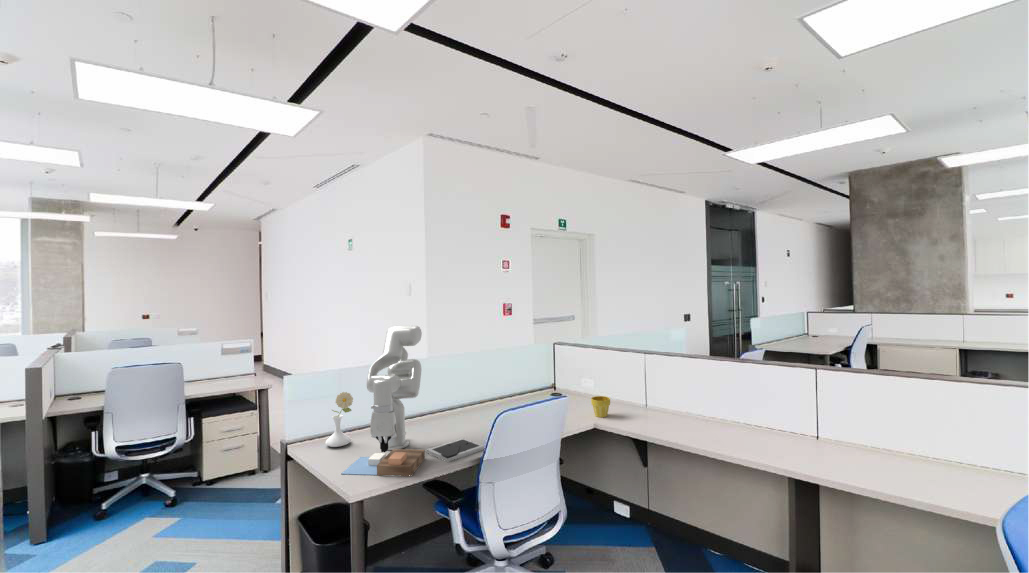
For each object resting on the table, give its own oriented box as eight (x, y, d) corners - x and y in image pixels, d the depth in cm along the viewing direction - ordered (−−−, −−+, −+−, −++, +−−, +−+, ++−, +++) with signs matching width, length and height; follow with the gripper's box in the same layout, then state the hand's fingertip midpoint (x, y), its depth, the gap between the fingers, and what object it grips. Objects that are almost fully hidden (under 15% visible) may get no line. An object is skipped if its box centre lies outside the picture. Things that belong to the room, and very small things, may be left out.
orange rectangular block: (394, 458, 199) (394, 452, 198) (406, 458, 198) (406, 452, 198) (388, 464, 192) (388, 458, 192) (400, 464, 191) (400, 458, 191)
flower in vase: (323, 450, 221) (321, 396, 220) (327, 442, 232) (325, 390, 231) (353, 447, 224) (351, 393, 223) (355, 439, 235) (354, 388, 234)
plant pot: (591, 418, 260) (591, 400, 260) (591, 413, 270) (590, 395, 270) (611, 418, 259) (610, 400, 259) (609, 413, 269) (609, 395, 269)
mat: (360, 457, 211) (360, 456, 211) (393, 458, 209) (393, 457, 209) (341, 474, 193) (341, 473, 193) (377, 475, 191) (377, 474, 191)
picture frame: (447, 463, 203) (485, 450, 218) (447, 456, 203) (484, 444, 218) (426, 454, 215) (463, 442, 229) (426, 447, 215) (463, 436, 229)
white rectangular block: (385, 453, 207) (385, 459, 208) (374, 453, 208) (374, 458, 208) (379, 459, 201) (379, 465, 201) (367, 459, 201) (368, 465, 201)
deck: (393, 458, 209) (393, 449, 209) (424, 458, 207) (424, 449, 207) (377, 475, 191) (376, 465, 191) (411, 476, 190) (410, 466, 189)
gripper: (362, 410, 201) (363, 454, 201) (397, 410, 199) (398, 454, 200) (370, 405, 208) (371, 447, 209) (403, 406, 207) (404, 448, 207)
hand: (384, 451), depth 204 cm, fingers closed
